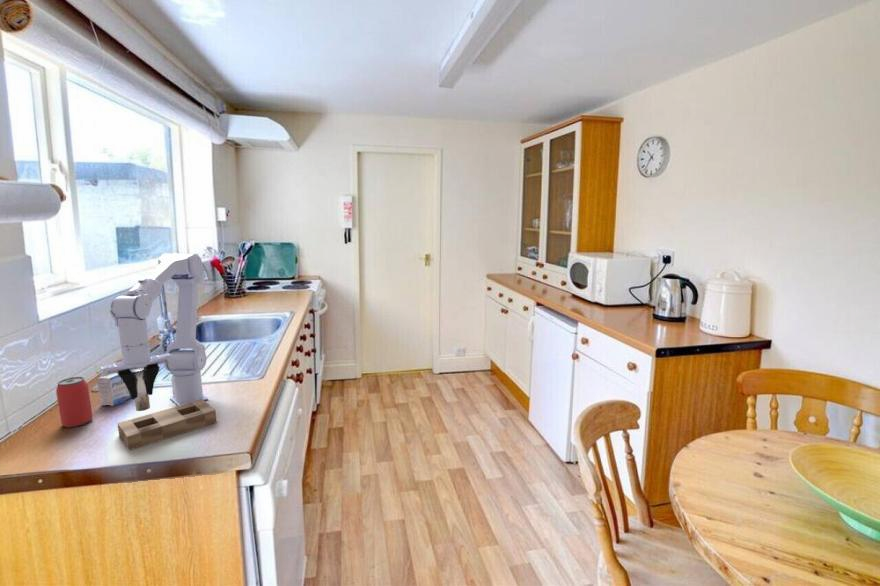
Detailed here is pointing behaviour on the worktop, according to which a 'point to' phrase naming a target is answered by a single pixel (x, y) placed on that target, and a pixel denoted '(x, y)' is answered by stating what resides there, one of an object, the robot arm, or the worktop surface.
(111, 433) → the worktop surface
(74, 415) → the beer can
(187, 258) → the robot arm
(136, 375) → the steel peg
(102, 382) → the medicine box
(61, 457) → the worktop surface
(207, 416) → the hole block
